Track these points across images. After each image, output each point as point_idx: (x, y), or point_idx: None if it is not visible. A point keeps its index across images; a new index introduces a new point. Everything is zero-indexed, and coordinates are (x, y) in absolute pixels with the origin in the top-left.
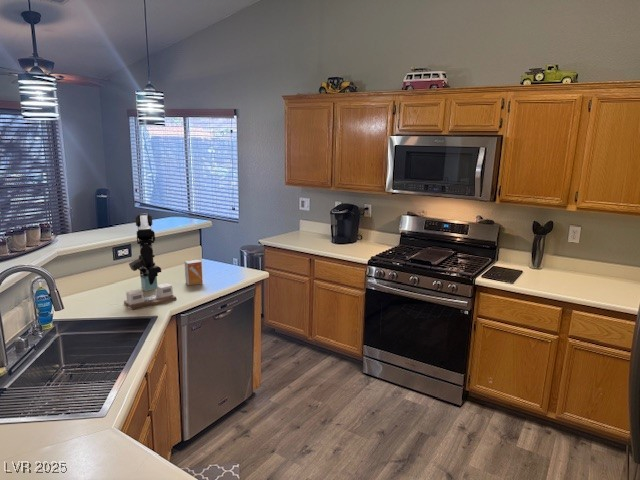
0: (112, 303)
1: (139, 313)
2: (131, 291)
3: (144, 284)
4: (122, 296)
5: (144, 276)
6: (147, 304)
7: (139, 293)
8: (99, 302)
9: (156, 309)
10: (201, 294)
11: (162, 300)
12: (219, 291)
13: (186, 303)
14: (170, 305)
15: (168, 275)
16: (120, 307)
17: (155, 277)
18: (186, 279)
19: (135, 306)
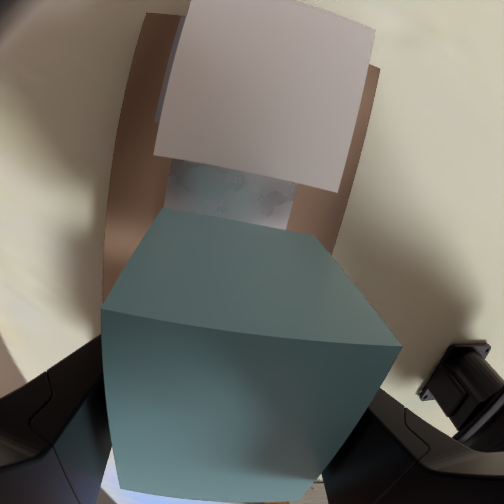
0: (440, 47)
1: (50, 32)
2: (324, 68)
3: (174, 245)
4: (492, 186)
5: (344, 411)
6: (116, 148)
7: (165, 101)
8: (501, 39)
9: (22, 165)
10: (111, 456)
11: (103, 286)
12: (103, 489)
13: (16, 351)
14: (32, 279)
15: None
16: (313, 3)
17: (120, 471)
18: (320, 500)
19: (143, 37)
